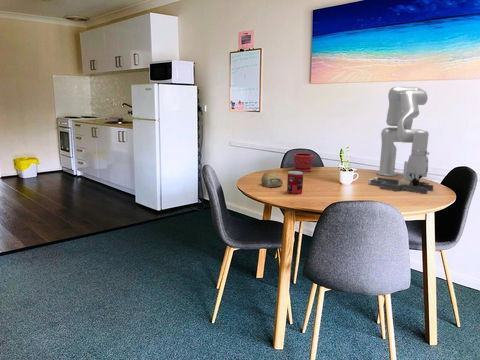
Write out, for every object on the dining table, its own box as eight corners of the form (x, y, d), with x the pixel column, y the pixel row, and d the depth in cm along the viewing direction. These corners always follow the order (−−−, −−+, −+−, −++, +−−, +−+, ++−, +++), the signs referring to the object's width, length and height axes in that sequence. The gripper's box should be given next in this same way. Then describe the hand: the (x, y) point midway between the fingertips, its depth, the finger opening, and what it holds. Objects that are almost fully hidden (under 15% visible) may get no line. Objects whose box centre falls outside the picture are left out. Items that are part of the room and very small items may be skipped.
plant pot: (291, 169, 266) (292, 152, 264) (309, 169, 268) (310, 152, 265) (295, 172, 253) (296, 155, 251) (314, 172, 255) (315, 155, 252)
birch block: (401, 186, 215) (402, 178, 214) (412, 188, 211) (413, 179, 210) (397, 188, 211) (398, 179, 210) (408, 190, 207) (409, 181, 206)
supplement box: (418, 184, 223) (420, 163, 220) (404, 183, 224) (407, 162, 222) (414, 181, 230) (417, 161, 227) (402, 181, 231) (404, 161, 229)
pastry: (266, 182, 223) (267, 168, 221) (286, 184, 217) (286, 171, 215) (256, 186, 211) (256, 172, 209) (276, 189, 205) (277, 174, 203)
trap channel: (380, 180, 232) (380, 175, 231) (436, 189, 210) (436, 184, 209) (364, 185, 216) (364, 180, 215) (422, 195, 194) (423, 190, 194)
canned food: (286, 190, 200) (287, 170, 198) (301, 191, 200) (302, 171, 198) (287, 194, 193) (288, 173, 190) (303, 194, 192) (304, 173, 190)
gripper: (435, 154, 201) (431, 187, 205) (407, 151, 211) (403, 183, 215) (431, 155, 196) (427, 189, 199) (402, 152, 206) (398, 185, 209)
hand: (415, 186), depth 207 cm, fingers closed
